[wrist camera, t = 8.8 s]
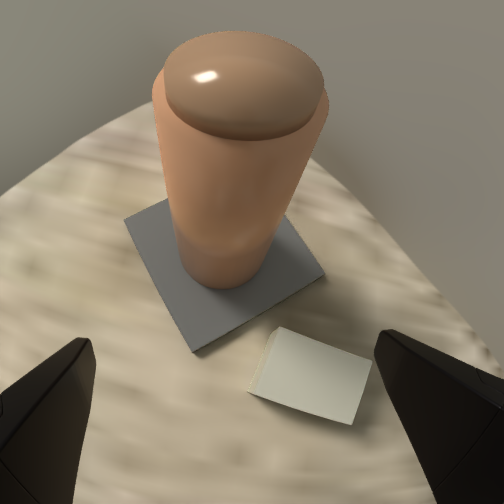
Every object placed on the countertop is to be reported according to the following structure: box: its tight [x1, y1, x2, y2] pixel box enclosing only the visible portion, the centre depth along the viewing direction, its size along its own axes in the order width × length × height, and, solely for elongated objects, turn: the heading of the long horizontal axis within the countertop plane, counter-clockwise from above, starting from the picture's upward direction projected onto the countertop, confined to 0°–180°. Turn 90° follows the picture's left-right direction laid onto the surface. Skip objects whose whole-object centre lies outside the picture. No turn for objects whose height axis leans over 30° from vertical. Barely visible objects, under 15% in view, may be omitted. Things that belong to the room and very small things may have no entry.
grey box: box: [247, 326, 373, 425], centre depth 18 cm, size 6×4×3 cm, turn 69°
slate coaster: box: [124, 198, 325, 353], centre depth 21 cm, size 10×10×1 cm
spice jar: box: [152, 31, 329, 289], centre depth 15 cm, size 6×6×14 cm
